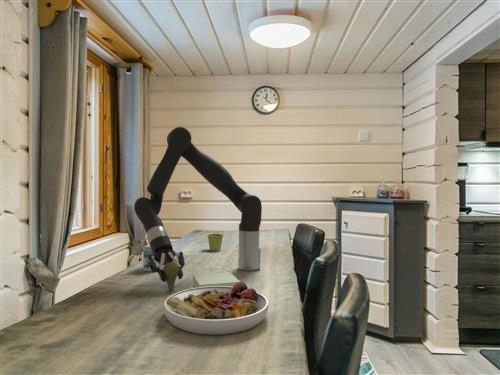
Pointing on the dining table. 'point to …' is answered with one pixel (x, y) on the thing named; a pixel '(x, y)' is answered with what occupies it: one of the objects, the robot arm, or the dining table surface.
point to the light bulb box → (146, 253)
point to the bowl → (216, 309)
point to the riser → (214, 279)
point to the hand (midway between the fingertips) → (173, 279)
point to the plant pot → (215, 241)
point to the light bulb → (171, 274)
